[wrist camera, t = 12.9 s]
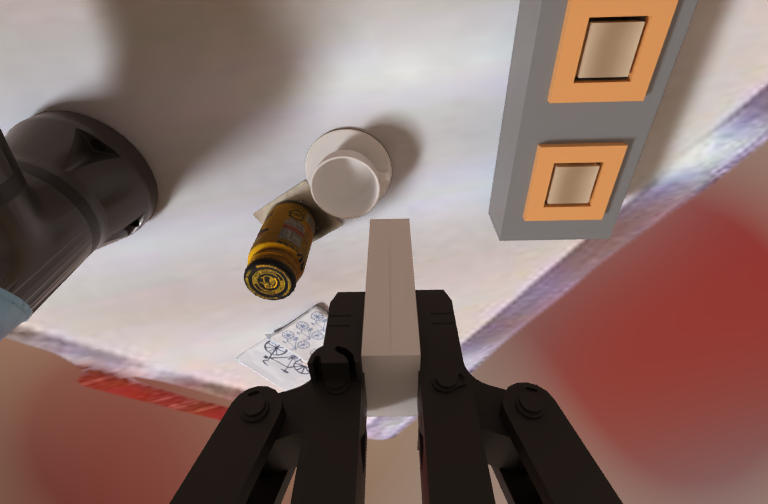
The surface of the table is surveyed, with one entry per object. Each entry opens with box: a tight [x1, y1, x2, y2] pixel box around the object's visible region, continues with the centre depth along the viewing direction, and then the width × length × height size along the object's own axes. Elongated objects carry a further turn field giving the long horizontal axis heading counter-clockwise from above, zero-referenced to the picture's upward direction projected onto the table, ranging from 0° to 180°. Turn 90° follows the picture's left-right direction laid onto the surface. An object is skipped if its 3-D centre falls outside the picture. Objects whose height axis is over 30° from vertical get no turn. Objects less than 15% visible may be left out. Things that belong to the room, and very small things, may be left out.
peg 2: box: [575, 17, 645, 78], centre depth 35 cm, size 4×4×7 cm
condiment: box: [244, 180, 342, 300], centre depth 45 cm, size 7×8×12 cm
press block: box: [489, 0, 698, 241], centre depth 38 cm, size 12×26×7 cm, turn 1°
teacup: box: [305, 129, 392, 219], centre depth 44 cm, size 10×10×5 cm
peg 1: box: [545, 162, 600, 204], centre depth 42 cm, size 4×4×7 cm
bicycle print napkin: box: [236, 306, 328, 391], centre depth 66 cm, size 19×20×2 cm
